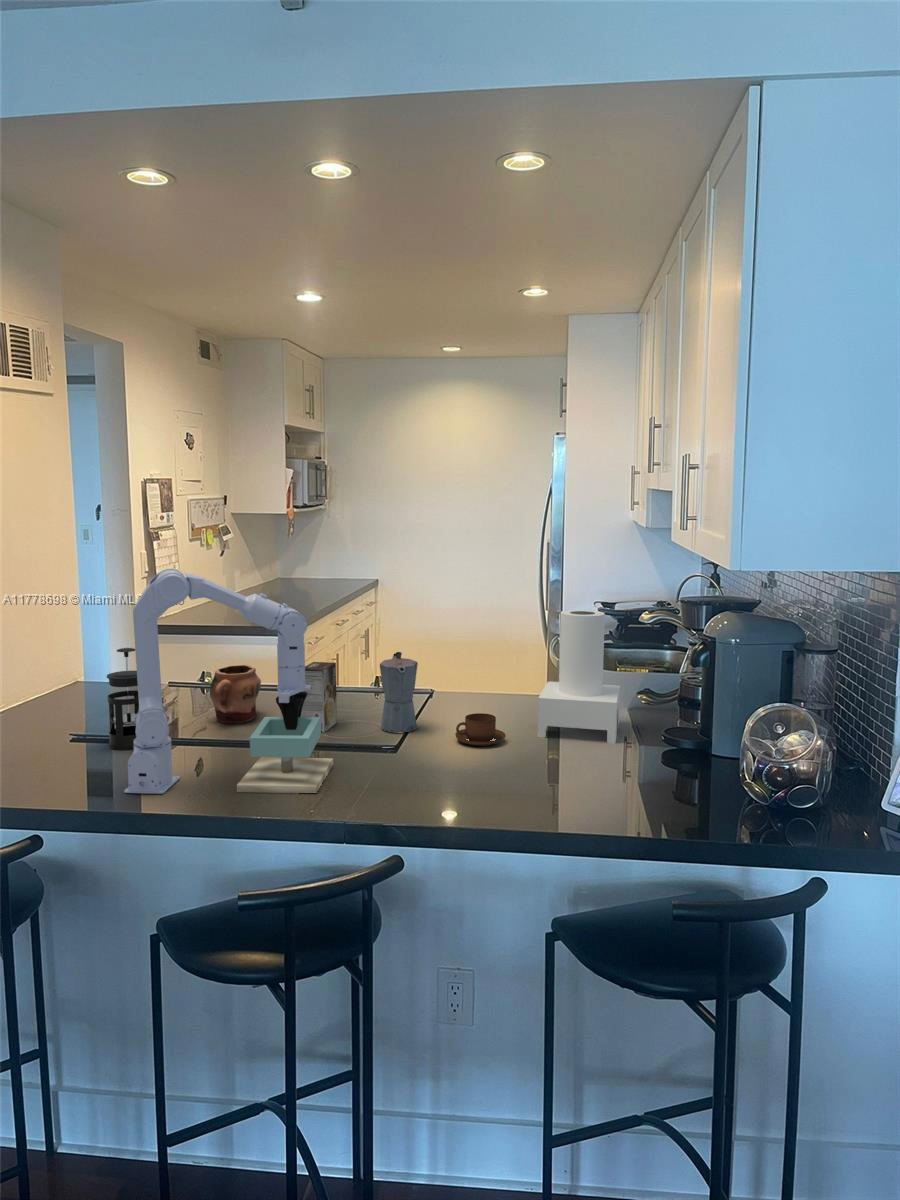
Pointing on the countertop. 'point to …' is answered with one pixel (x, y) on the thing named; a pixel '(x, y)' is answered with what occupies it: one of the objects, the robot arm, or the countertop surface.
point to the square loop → (285, 738)
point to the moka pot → (398, 694)
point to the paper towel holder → (580, 679)
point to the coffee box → (321, 693)
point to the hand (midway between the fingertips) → (292, 727)
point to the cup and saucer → (479, 730)
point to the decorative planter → (235, 693)
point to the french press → (121, 735)
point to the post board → (286, 775)
